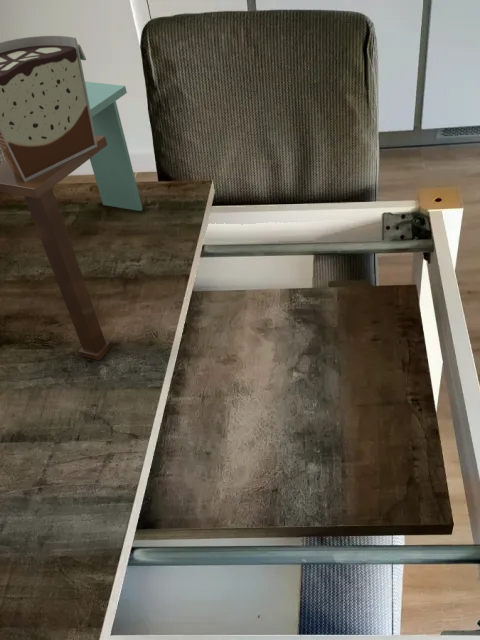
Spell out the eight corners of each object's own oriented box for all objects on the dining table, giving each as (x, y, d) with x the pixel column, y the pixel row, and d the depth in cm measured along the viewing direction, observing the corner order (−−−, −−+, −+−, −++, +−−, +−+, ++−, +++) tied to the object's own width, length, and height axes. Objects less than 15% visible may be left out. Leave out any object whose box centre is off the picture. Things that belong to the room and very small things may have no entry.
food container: (69, 128, 72) (38, 26, 65) (108, 141, 70) (80, 36, 62) (-27, 173, 65) (-74, 64, 58) (12, 188, 63) (-32, 77, 56)
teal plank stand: (65, 237, 99) (23, 119, 86) (115, 194, 108) (83, 81, 95) (104, 245, 97) (68, 124, 84) (152, 200, 106) (125, 85, 93)
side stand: (51, 352, 81) (-23, 179, 65) (106, 295, 89) (52, 129, 72) (98, 363, 79) (34, 188, 63) (150, 304, 87) (105, 135, 71)
